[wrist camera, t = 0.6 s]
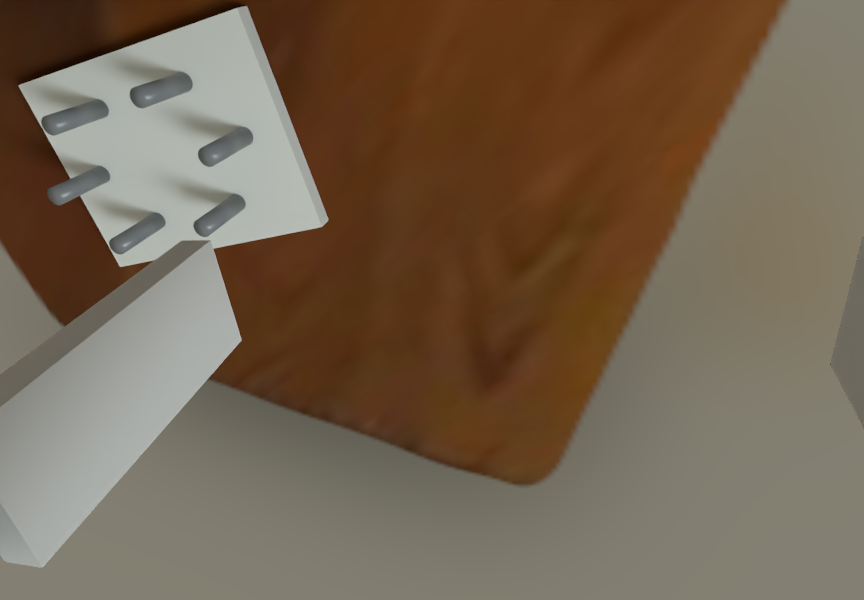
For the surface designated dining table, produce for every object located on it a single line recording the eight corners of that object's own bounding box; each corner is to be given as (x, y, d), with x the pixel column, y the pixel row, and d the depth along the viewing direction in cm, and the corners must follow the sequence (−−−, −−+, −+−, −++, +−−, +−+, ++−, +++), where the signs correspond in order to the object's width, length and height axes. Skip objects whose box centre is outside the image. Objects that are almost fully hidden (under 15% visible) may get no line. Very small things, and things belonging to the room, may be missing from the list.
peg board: (31, 81, 43) (-40, 100, 38) (246, 6, 37) (194, 16, 32) (130, 260, 49) (78, 295, 44) (328, 220, 43) (294, 255, 38)
